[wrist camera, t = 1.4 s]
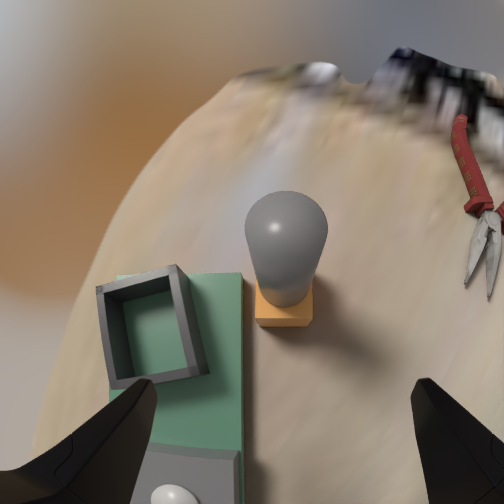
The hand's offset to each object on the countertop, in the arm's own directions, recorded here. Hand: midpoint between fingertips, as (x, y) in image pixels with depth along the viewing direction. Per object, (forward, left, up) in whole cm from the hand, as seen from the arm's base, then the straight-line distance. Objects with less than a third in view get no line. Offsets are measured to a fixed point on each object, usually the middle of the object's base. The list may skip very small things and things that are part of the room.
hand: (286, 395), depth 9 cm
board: (-3, +8, -13) cm, 15 cm away
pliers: (+16, -21, -13) cm, 30 cm away
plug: (+6, 0, -13) cm, 14 cm away
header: (+3, +9, -11) cm, 15 cm away
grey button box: (-9, +7, -11) cm, 16 cm away
